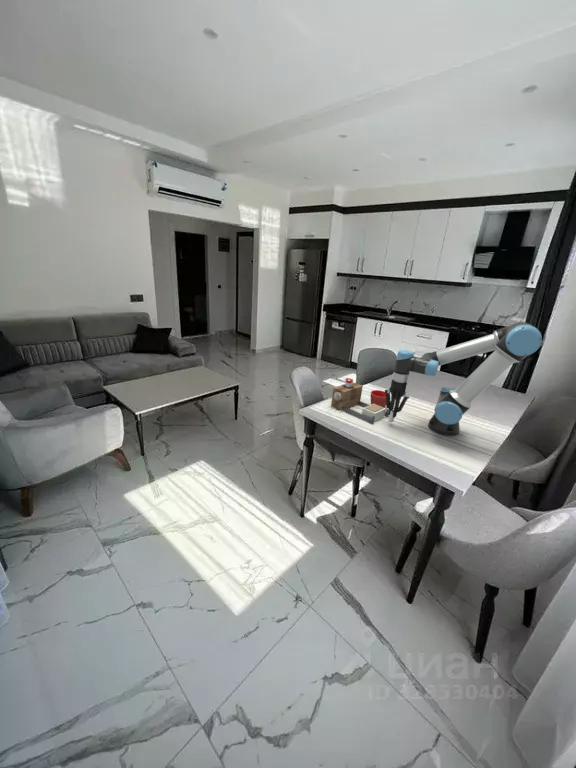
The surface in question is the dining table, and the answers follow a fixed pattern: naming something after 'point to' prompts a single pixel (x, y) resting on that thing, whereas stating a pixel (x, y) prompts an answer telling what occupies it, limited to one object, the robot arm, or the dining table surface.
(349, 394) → the end cabinet
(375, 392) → the flower pot
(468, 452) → the dining table surface
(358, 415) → the rail channel
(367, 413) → the block
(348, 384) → the cylinder
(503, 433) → the dining table surface
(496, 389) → the dining table surface
